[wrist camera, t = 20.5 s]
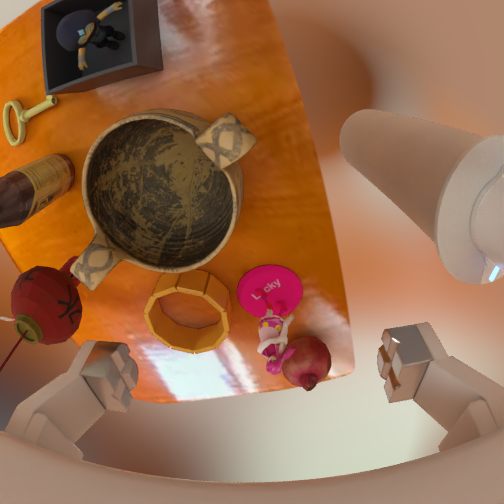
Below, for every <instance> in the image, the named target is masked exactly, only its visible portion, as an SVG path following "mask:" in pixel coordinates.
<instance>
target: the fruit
mask: <svg viewBox="0 0 504 504" xmlns="http://www.w3.org/2000/svg"><path fill="white" fill-rule="evenodd" d="M291 347H292V348H291ZM290 348H291V350H292V349H296V350H295V351H294V352H293V354H292V355H291V356H290V357H289V358H287V359H286V360H285V361H284V362H283V367H282V371H283V374H284V376H285V378H286V379H287V380H288V381H289V382H291V383H292V384H293V385H296V386H299V387H303V388H304V389H305V390H306V391H311V390H312V389H313V388H314V387H315V386H316V384H318V383H319V382H321V381H322V380H323V379H325V377H326V376H327V374H328V373H329V371H330V368H331V355H330V353H329V350H328V348H327V346H326V344H324V343H323V342H322V341H321V340H319V339H317V338H316V337H310V336H307V337H302V338H299V339H296V340H294V341H292V342H291V343H289V344H288V345H287V346H286V348H285V350H284V352H285V351H286V350H289V349H290ZM284 352H283V353H284Z"/></svg>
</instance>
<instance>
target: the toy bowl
mask: <svg viewBox="0 0 504 504" xmlns="http://www.w3.org/2000/svg"><path fill="white" fill-rule="evenodd" d="M208 274H209V272H205V271H201V270H196V269H193V270H189V271H186V272H181V273H165V274H163V275H162V276H160V278H159V280H158V282H157V284H156V286H155V288H154V290H153V292H152V294H151V296H150V299H149V301H148V303H147V305H146V307H145V309H144V311H143V313H144V314H143V315H144V318H145V321H146V323H147V326H148V329H149V331H150V333H152V335H153V336H154V337H155V338H157V339H158V340H159V341H161V342H162V343H163V344H164V345H166V346H167V347H168V348H170V347H171V349H174V350H178V351H182V352H187V353H192V354H194V352H195V353H196V354H198V353H202V352H206V351H210V350H214V349H216V348H218V347H219V346H220V345H221V343H222V342H223V341H224V340H225V338H226V337H227V336H228V335H229V332H230V326H231V317H232V304H231V298H230V292H229V291H228V289H227V288H226V287H225V286H224V285H223V284H222V283H221V282H220V281H219V280H218V279H217V278H216V277H214V276H213V275H212V274H210V275H208ZM176 291H178V292H183V293H187V294H192V295H196V296H201V297H203V298H204V299H205V300H207V301H208V302H209V303H210V304H211V305H212V306H214V307H215V308H216V309H217V310H218V311H219V312H221V317H222V318H221V319H220V321H219V322H218V323H217V324H215V325H212V326H208V327H205V328H201V329H195V328H190V327H186V326H181V325H178V324H176V323H175V322H174V321H173V320H172V319H170V318H169V317H168V316H167V315H165V314H164V313H163V312H162V309H161V306H160V303H159V300H158V298H159V297H162V296H165V295H168V294H170V293H173V292H176Z"/></svg>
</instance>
